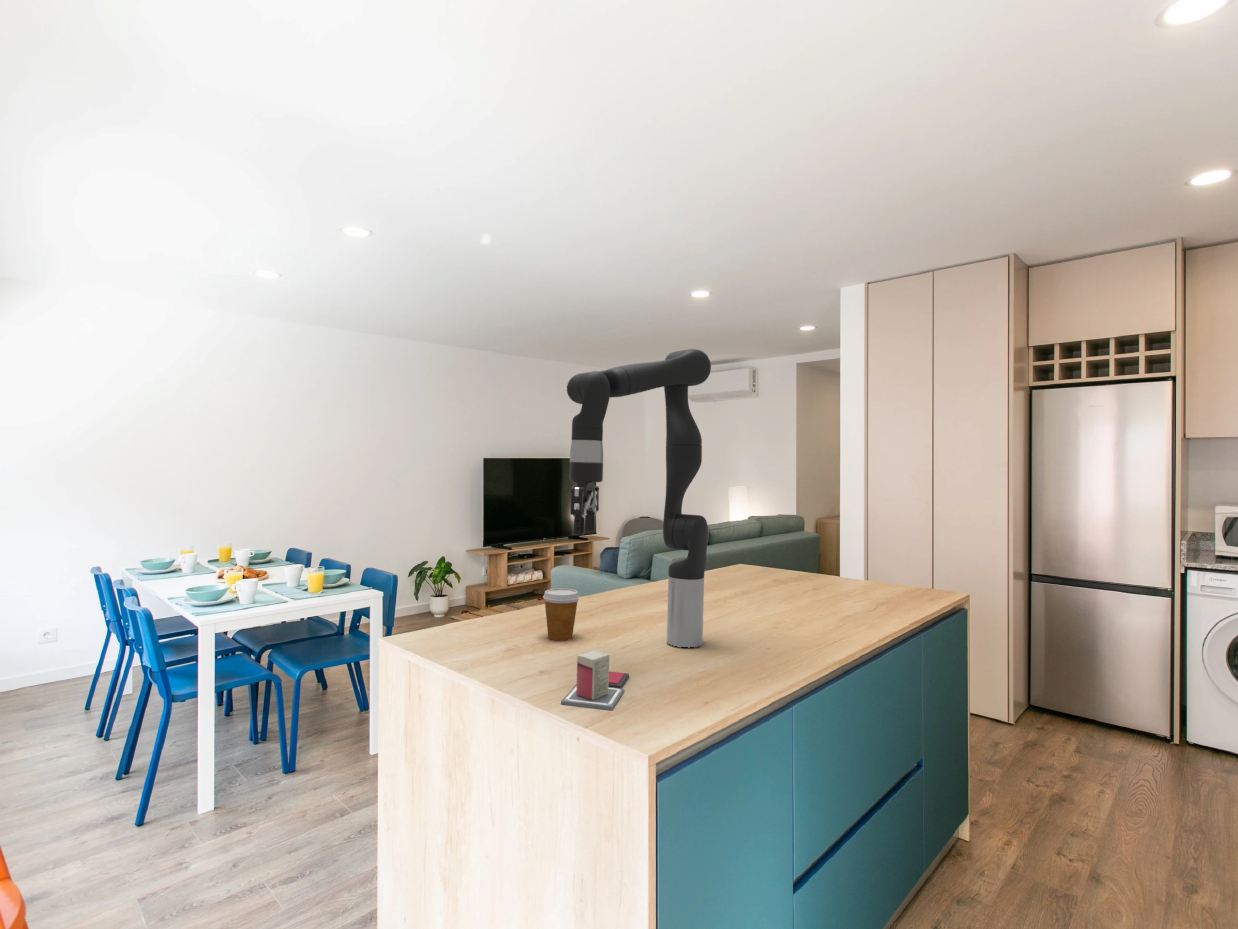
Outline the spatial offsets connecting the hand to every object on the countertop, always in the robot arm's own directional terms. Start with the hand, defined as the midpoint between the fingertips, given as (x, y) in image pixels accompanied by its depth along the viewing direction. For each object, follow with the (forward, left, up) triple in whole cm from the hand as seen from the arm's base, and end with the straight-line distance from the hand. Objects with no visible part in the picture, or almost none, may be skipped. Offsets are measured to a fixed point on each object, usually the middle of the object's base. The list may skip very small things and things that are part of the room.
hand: (584, 532), depth 144 cm
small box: (+18, +8, -30) cm, 36 cm away
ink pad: (+8, +8, -30) cm, 32 cm away
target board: (+18, +8, -30) cm, 36 cm away
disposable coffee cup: (-21, -12, -30) cm, 39 cm away
